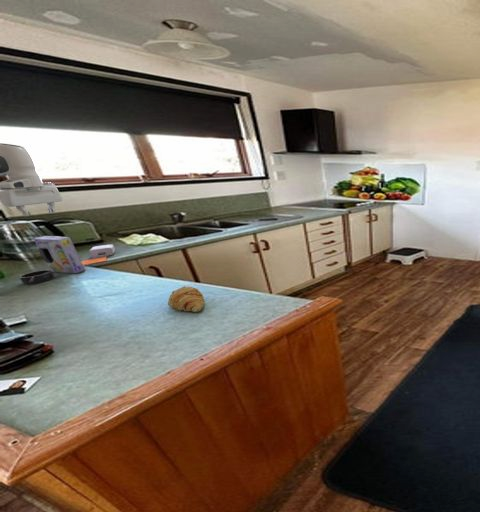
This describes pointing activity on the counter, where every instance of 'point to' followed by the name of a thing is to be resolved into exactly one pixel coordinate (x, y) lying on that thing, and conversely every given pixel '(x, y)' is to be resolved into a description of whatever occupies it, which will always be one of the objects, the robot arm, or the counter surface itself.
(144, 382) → the counter surface
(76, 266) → the cake pan box
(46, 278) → the pan
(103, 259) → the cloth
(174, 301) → the croissant
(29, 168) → the robot arm
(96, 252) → the charger
